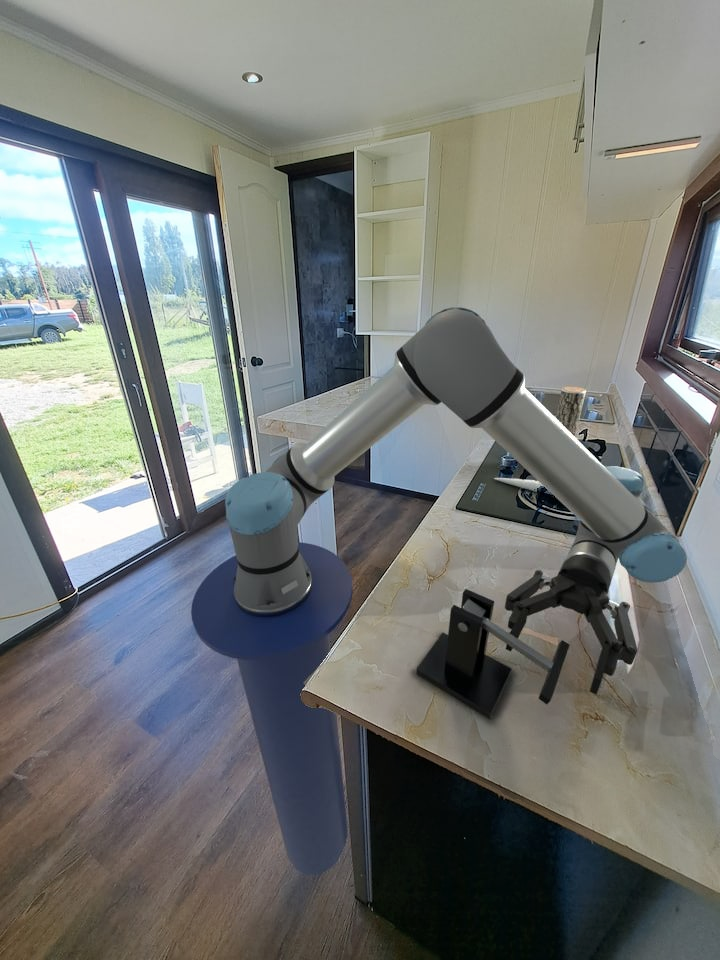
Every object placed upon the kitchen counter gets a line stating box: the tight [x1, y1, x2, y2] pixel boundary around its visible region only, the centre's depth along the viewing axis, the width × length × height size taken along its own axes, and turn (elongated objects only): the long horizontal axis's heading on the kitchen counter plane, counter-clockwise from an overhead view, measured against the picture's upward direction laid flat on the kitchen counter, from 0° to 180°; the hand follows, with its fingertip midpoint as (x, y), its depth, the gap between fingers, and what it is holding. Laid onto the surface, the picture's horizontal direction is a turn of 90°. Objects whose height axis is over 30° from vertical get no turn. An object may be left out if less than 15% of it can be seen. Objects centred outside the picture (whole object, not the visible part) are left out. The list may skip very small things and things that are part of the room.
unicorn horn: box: [493, 477, 543, 493], centre depth 113 cm, size 5×24×5 cm, turn 49°
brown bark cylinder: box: [555, 386, 587, 438], centre depth 125 cm, size 7×7×25 cm
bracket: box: [415, 588, 513, 720], centre depth 58 cm, size 12×9×15 cm
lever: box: [462, 599, 570, 705], centre depth 53 cm, size 14×10×2 cm
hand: (550, 663), depth 51 cm, fingers open, 10 cm apart
